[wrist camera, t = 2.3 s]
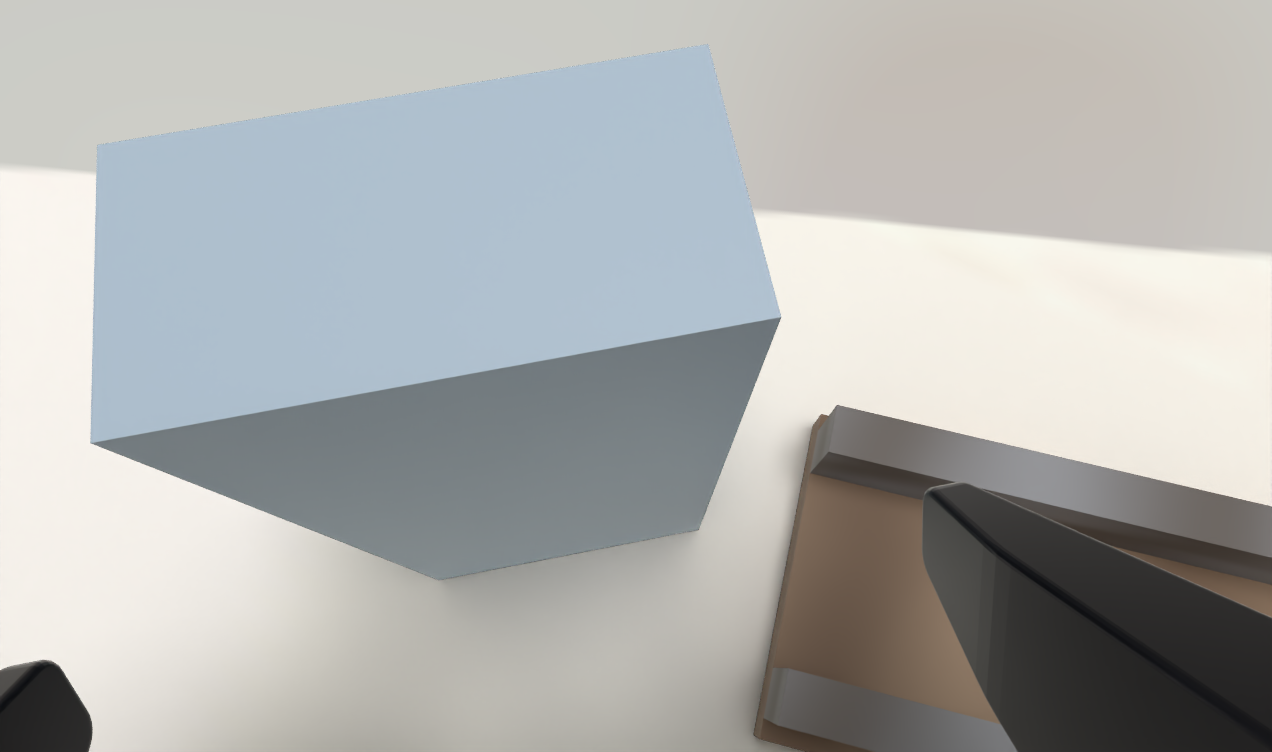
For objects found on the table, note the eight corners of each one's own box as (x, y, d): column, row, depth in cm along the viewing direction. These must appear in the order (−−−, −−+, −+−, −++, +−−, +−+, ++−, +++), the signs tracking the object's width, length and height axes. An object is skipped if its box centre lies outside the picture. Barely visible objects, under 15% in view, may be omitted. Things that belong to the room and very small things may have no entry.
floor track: (753, 735, 18) (773, 748, 15) (812, 425, 20) (840, 386, 17) (1451, 924, 16) (1618, 980, 14) (1433, 572, 19) (1574, 556, 16)
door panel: (438, 580, 19) (89, 443, 7) (424, 453, 20) (97, 145, 8) (698, 529, 19) (781, 317, 7) (672, 406, 20) (708, 43, 8)
